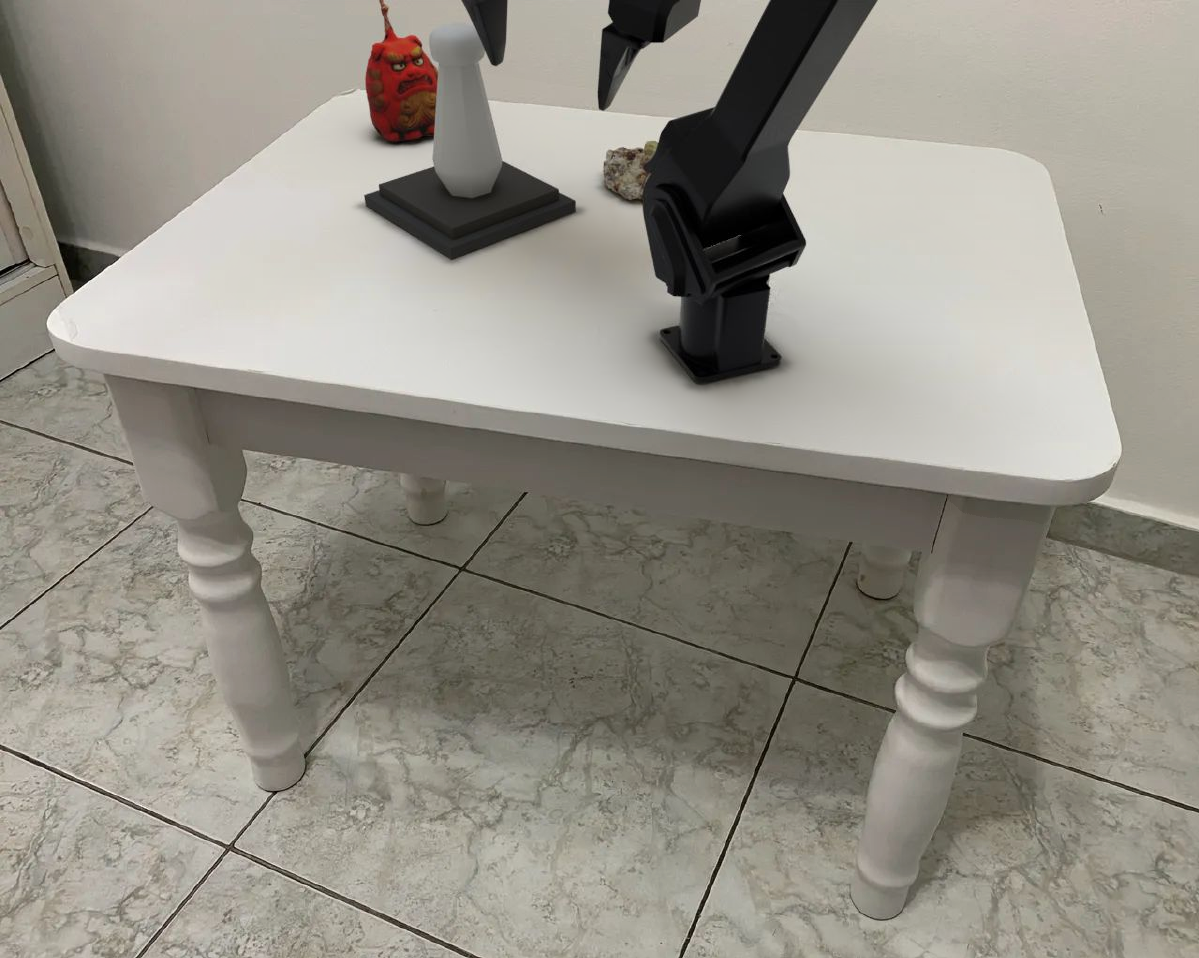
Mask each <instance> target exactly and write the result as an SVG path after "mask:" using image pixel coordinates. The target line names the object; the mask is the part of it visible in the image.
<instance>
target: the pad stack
mask: <svg viewBox="0 0 1199 958" xmlns="http://www.w3.org/2000/svg"><path fill="white" fill-rule="evenodd" d="M363 196H364V203H365V206H366V207H367V208H369V209H371V210H372V211H374V212H375V213H377V214H378V215H380V216H381V217H383V218H385V219H386V220H388V221H389V222H391V223H393V224H394V225H396V226H398V227H399V228H400V229H402V230H403V231H405V232H407V233H408V234H410V235H412V236H413V237H415V238H416V239H418V240H420V241H422V242H423V243H424V244H426V245H427V246H429V247H431V248H433V249H434V250H436V251H437V252H439V253H441V254H442V255H444V256H445V257H447V258H448V259H450V260H453V259H457V258H459V257H462V256H464V255H467V254H469V253H472V252H474V251H477V250H479V249H482V248H485V247H488V246H490V245H493V244H495V243H498V242H500V241H503V240H506V239H509V238H510V237H514V236H516V235H518V234H521V233H524V232H526V231H528V230H531V229H534V228H537V227H539V226H542V225H544V224H547V223H549V222H552V221H555V220H557V219H559V218H562V217H565V216H567V215H571V214H572V213H575V212H576V211H577V205H576V203H577V201H576V200H575V199H573V198H571V197H569V196H567V195H566V194H563V193H561V192H560V189H559V188H558V187H555V186H553V185H552V184H550V183H547V182H546V181H544V180H542V179H539V178H537V177H535V176H533V175H532V174H530V173H528V172H526V171H524V170H522V169H520V168H517V167H516V166H514V165H512V164H509V163H508V162H507V161H504V160H502V167H501V169H500V172H499V174H498V176H497V178H496V180H495V183H494V185H493V187H492V190H491V193H487V194H484V195H481V196H478V197H474V198H467V197H459V196H452V195H451V194H450V192H449V191H448V190H447V188H446V187H445V185H444V183H443V182H442V181H441V179H440V178H439V176H438V175H437V173H436V172H435V168H434V166H431V167H428V168H424V169H421V170H419V171H415V172H412V173H409V174H406V175H403V176H400V177H397V178H394V179H391V180H388V181H385V182H382V183H379V184H378V189H377V190H376V191H375V190H374V191H372V192H369V193H366V194H364V195H363Z"/></svg>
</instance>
